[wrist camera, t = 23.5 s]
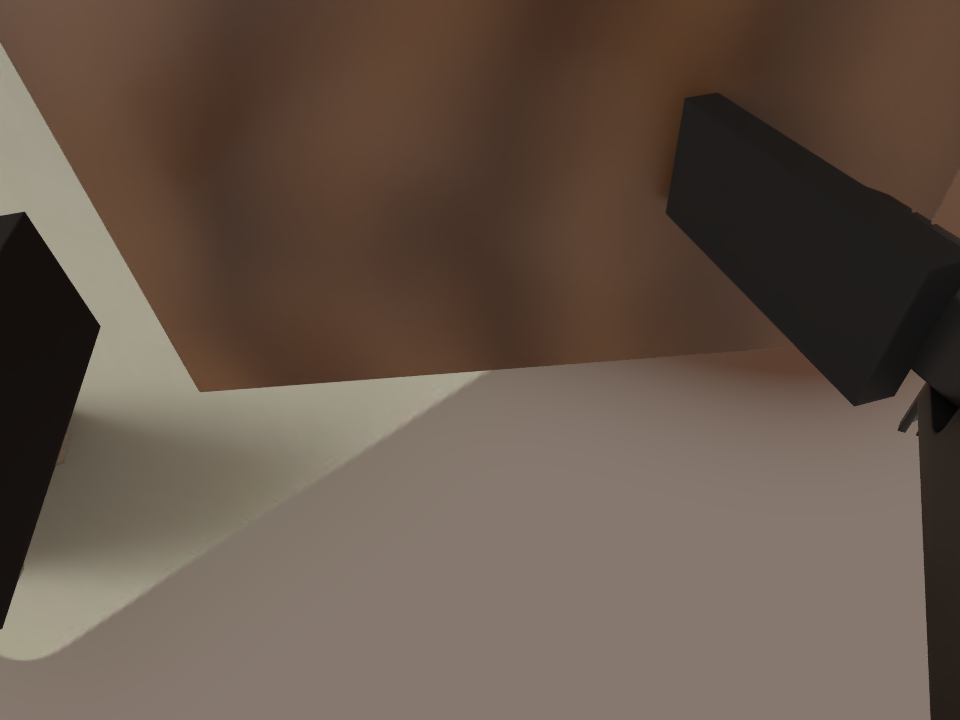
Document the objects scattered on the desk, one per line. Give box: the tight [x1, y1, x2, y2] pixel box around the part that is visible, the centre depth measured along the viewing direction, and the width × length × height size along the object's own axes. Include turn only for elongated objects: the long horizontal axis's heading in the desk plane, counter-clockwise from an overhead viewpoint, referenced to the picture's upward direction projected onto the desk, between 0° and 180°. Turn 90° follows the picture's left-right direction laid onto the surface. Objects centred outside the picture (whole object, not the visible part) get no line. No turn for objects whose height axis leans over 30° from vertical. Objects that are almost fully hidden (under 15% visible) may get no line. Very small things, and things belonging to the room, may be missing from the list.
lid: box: [0, 0, 960, 392], centre depth 14 cm, size 21×13×1 cm, turn 94°
